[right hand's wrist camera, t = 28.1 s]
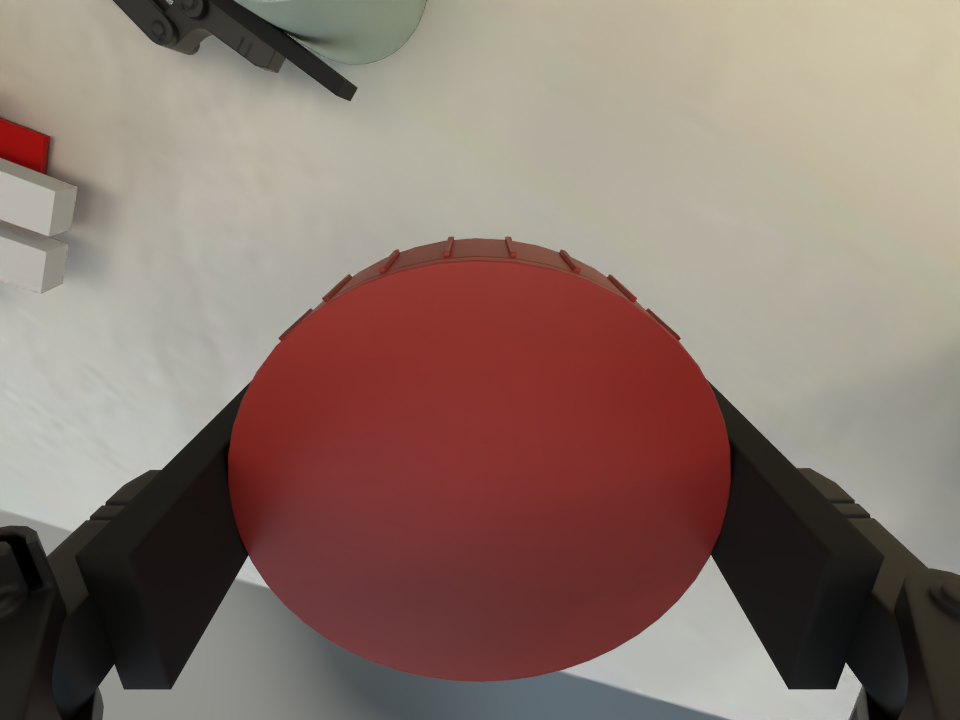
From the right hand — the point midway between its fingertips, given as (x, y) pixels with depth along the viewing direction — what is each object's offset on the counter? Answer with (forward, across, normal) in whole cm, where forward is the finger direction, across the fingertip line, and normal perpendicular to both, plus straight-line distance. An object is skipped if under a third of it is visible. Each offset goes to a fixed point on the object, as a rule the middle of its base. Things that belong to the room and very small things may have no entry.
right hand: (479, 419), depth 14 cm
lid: (-3, 0, 0) cm, 3 cm away
